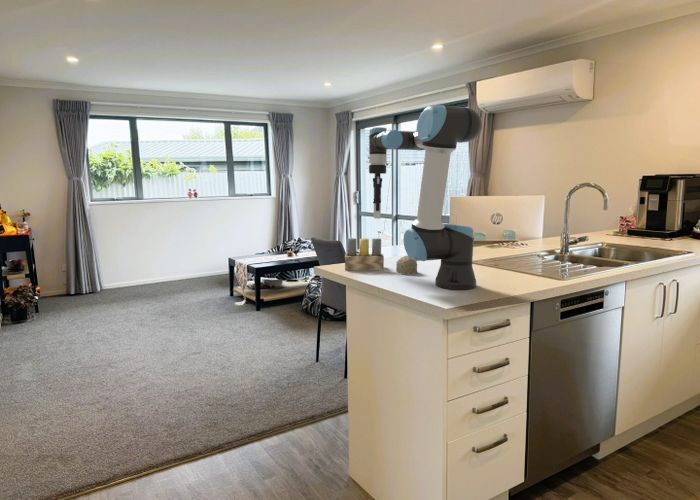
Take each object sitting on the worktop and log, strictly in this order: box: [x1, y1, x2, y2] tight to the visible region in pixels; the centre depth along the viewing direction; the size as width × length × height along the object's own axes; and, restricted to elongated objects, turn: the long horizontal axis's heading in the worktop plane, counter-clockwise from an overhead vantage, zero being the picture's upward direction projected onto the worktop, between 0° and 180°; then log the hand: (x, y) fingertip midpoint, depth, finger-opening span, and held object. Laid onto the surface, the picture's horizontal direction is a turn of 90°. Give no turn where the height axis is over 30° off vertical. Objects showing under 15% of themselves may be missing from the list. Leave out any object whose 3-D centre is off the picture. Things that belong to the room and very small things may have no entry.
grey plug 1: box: [346, 237, 357, 256], centre depth 209 cm, size 4×4×9 cm
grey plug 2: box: [371, 238, 382, 256], centre depth 209 cm, size 4×4×9 cm
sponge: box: [395, 255, 418, 275], centre depth 201 cm, size 9×10×10 cm
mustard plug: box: [359, 238, 370, 256], centre depth 209 cm, size 4×4×9 cm
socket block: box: [344, 253, 385, 271], centre depth 210 cm, size 17×8×6 cm, turn 90°
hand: (376, 217), depth 207 cm, fingers open, 5 cm apart
